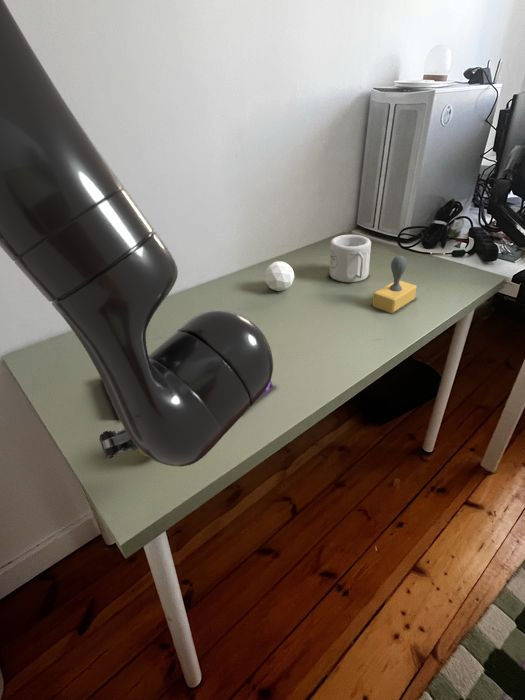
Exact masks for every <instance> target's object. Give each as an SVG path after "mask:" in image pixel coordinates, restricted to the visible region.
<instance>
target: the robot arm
mask: <svg viewBox="0 0 525 700" xmlns="http://www.w3.org/2000/svg"><path fill="white" fill-rule="evenodd" d="M0 248H1V249H2V250H3V252H4V253H5V254H6V255H7V256H8V257H9V258H10V259H11V260H12V261H13V262H14V264H15V265H16V267H18V269H19V270H20V271H21V272H22V273H23V274H24V275H25V277H26V278H27V279H28V280H29V281H30V282H31V283H32V284H33V286H35V288H36V289H37V290H38V291H39V292H40V293H41V295H42V296H43V297H44V298H45V299H46V300H47V301H48V302H50V303H51V305H52V307H53V308H54V309H55V310H56V311H57V312H58V314H59V315H60V316H61V317H62V319H64V321H65V322H66V324H67V325H68V326H69V328H70V329H71V330H72V332H73V333H74V335H75V336H76V337H77V339H78V340H79V342H80V344H81V345H82V346H83V348H84V349H85V351H86V353H87V354H88V357H89V358H90V360H91V362H92V363H93V365H94V367H95V369H96V371H97V374H98V375H99V377H100V379H101V381H103V382H102V384H103V383H104V384H103V386H104V385H105V387H104V389H105V388H106V389H105V391H106V390H107V392H108V394H109V397H110V399H111V401H112V403H113V406H114V408H115V410H116V412H117V414H118V416H119V420H120V422H121V425H122V426H123V429H119V430H117V431H116V430H105V431H103V432H102V433H101V434H99V443H100V444H101V447H102V450H103V453H104V456H105V459H112V458H114V456H116V455H117V454H118V453H127V452H129V451H130V450H132V452H136V451H138V450H139V449H140V450H141V451H142V452H143V453H144V454H145V455H147V456H148V457H147V456H146V457H147V458H150V459H151V460H152V461H154V462H156V463H159V464H161V465H164V466H165V465H166V466H169V467H180V468H182V467H186V466H191V465H194V464H195V463H198V462H199V461H201V459H203V458H204V457H205V456H207V454H208V453H210V451H211V450H212V449H213V448H214V447H215V446H216V445H217V444H218V443H219V441H221V440H222V438H223V437H224V436H225V435H226V433H227V432H229V431H230V430H231V428H232V427H233V426H234V425H235V424H236V423H237V422H238V421H239V420H240V419H241V418H242V417H243V416H244V415H245V413H246V412H247V411H249V409H250V408H251V407H252V406H253V405H254V404H255V403H256V402H257V401H258V400H259V399H260V398H259V397H260V396H261V395H262V394H263V392H264V391H265V390H266V388H267V387H269V386H270V385H269V383H270V381H271V382H272V377H273V372H274V357H273V354H272V353H273V352H272V349H271V346H270V343H269V342H268V340H267V338H266V336H265V334H264V333H263V331H262V330H261V329H260V328H259V327H258V326H257V325H256V324H255V323H254V322H253V321H252V320H251V319H249V318H248V317H246V316H244V315H242V314H240V313H238V312H236V311H231V310H227V309H220V308H219V309H218V308H217V309H209V310H204V311H202V312H200V313H197V314H196V315H194V316H192V317H191V318H190V319H188V320H187V321H186V322H184V323H183V325H182V326H180V327H179V328H178V329H177V330H176V331H175V332H173V333H172V334H171V335H170V336H169V337H168V338H167V339H166V340H164V341H163V342H162V343H161V344H160V345H158V346H157V347H156V348H155V349H154V350H153V351H152V352H151V353H148V346H147V331H148V327H149V324H150V322H151V320H152V319H153V316H154V315H155V313H156V312H157V310H158V309H159V307H160V306H161V305H162V303H163V302H164V301H165V299H166V298H167V297H168V295H169V294H170V292H171V291H172V290H173V287H174V286H175V284H176V282H177V279H178V273H179V271H178V266H177V262H176V261H175V258H174V256H173V255H172V253H171V252H170V250H169V248H168V247H167V245H166V243H165V242H164V241H163V240H162V238H161V237H160V234H158V232H157V231H154V227H153V225H151V223H150V222H149V220H148V218H147V217H146V215H144V213H143V211H142V210H141V209H140V207H139V206H138V205H137V203H136V201H135V200H134V199H133V197H132V196H131V194H130V193H129V191H128V190H127V188H125V186H124V184H123V183H122V182H121V180H120V179H119V177H118V175H116V173H115V172H114V170H113V169H112V167H111V166H110V165H109V163H108V162H107V160H106V159H105V158H104V156H103V155H102V153H101V152H100V151H99V149H98V148H97V146H96V145H95V143H94V142H93V140H92V139H91V138H90V136H89V135H88V133H87V132H86V130H85V128H83V126H82V125H81V123H80V122H79V120H78V119H77V117H76V115H75V114H74V112H73V111H72V109H71V108H70V106H69V105H68V103H67V102H66V100H65V99H64V98H63V96H62V94H61V93H60V91H59V90H58V88H57V87H56V85H55V83H54V82H53V80H52V78H51V77H50V76H49V74H48V73H47V71H46V69H45V68H44V66H43V64H42V63H41V61H40V60H39V58H38V56H37V55H36V53H35V51H34V49H33V48H32V46H31V45H30V42H29V41H28V40H27V38H26V36H25V35H24V33H23V31H22V30H21V28H20V26H19V24H18V23H17V21H16V19H15V17H14V16H13V15H12V13H11V11H10V8H9V7H8V5H7V3H6V2H5V1H4V0H0ZM268 385H269V386H268ZM107 392H106V393H107ZM108 394H107V395H108ZM109 397H108V398H109ZM258 398H259V399H258ZM110 399H109V400H110ZM257 399H258V400H257ZM111 401H110V402H111ZM113 406H112V407H113Z"/></svg>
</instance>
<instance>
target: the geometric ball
mask: <svg viewBox="0 0 525 700" xmlns="http://www.w3.org/2000/svg"><path fill="white" fill-rule="evenodd" d="M294 279H295V273H294V270H293V268H292V266H291V265H289V264H288V263H287V262H285V261H283V260H282V261H281V260H280V261H277V260H276V261H273V262H272V263H271V264H270V265H268V266H267V267H266V270H265V273H264V280H265V283H266V284H267V286H268V287H269V288H270V289H272V290H274V291H277V292H282V291H285V290H288V288H290V287H291V286H292V285H293V282H294Z"/></svg>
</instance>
